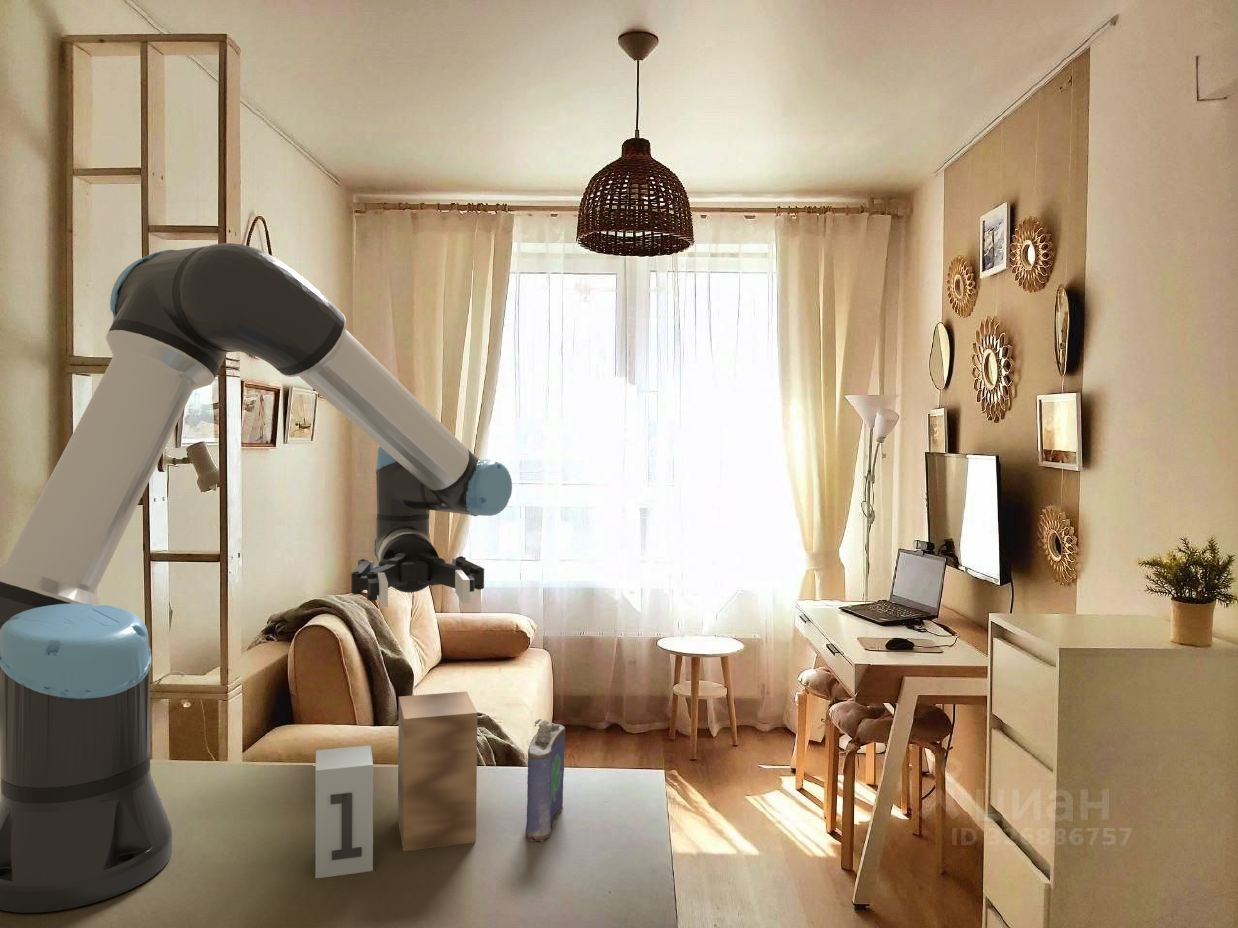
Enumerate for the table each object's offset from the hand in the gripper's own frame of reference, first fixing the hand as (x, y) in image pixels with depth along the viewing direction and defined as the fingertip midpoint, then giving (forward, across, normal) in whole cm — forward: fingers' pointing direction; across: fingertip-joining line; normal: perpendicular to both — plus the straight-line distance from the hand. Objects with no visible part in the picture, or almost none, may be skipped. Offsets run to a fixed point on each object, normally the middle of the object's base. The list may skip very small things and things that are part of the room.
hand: (425, 593), depth 101 cm
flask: (+12, -11, -22) cm, 28 cm away
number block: (+15, +9, -22) cm, 28 cm away
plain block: (+11, 0, -22) cm, 25 cm away
